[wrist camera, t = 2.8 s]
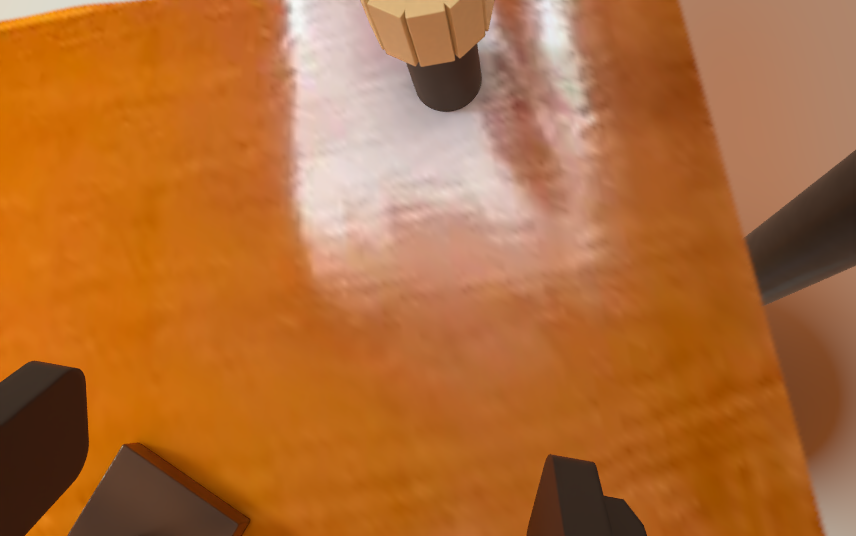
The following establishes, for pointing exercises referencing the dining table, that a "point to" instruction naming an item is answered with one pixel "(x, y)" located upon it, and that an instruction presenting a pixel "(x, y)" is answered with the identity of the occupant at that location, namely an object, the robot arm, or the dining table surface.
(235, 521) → the stand
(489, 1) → the beige thick ring
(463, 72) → the cylinder
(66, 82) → the dining table surface
